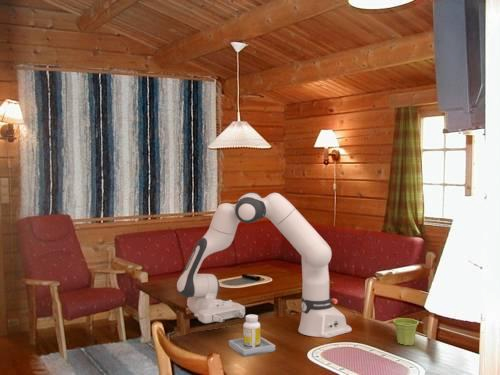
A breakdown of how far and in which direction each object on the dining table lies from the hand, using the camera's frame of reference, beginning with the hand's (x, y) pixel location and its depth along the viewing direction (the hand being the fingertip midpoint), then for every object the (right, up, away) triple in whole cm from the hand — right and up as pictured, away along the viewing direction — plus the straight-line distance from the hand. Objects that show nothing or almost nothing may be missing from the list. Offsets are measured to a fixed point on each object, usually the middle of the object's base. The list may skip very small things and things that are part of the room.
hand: (232, 317), depth 213 cm
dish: (+7, -9, -9) cm, 15 cm away
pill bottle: (+7, -9, -9) cm, 15 cm away
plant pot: (+67, -9, -3) cm, 68 cm away
